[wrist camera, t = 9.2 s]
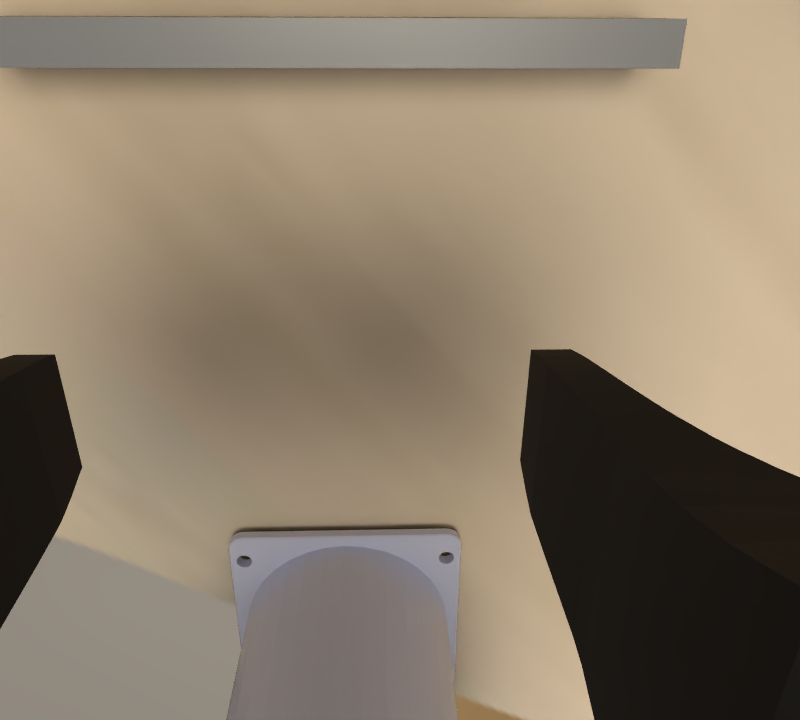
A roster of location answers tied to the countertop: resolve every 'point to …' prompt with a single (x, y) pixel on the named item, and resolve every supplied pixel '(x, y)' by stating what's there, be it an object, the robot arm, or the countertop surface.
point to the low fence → (339, 42)
